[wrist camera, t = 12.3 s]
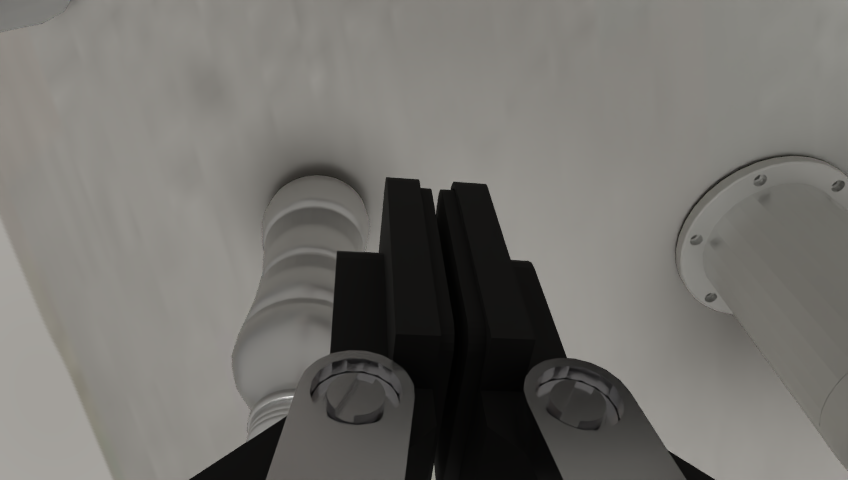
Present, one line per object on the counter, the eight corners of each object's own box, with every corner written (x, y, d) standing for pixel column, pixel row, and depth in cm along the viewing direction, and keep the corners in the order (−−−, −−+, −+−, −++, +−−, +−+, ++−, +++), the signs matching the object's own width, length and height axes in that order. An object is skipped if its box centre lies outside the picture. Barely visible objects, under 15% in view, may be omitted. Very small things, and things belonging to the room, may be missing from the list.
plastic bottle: (245, 197, 43) (169, 446, 27) (331, 143, 42) (308, 370, 25) (307, 265, 47) (274, 526, 30) (389, 217, 45) (403, 463, 28)
